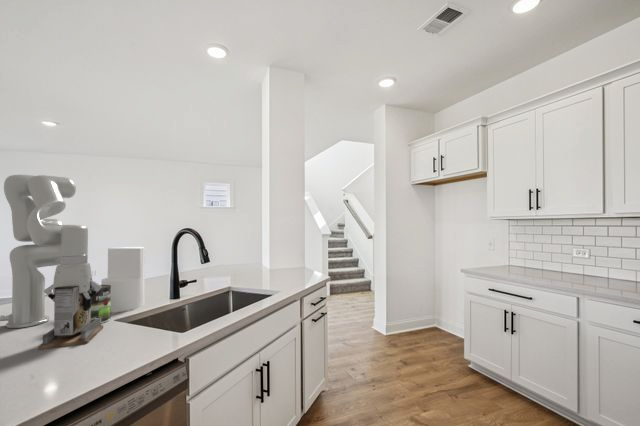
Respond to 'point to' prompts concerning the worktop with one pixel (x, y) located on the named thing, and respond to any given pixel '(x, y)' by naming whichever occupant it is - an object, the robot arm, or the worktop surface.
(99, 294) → the coffee can
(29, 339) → the worktop surface
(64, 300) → the coffee box
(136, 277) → the tall white block
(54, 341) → the dock
